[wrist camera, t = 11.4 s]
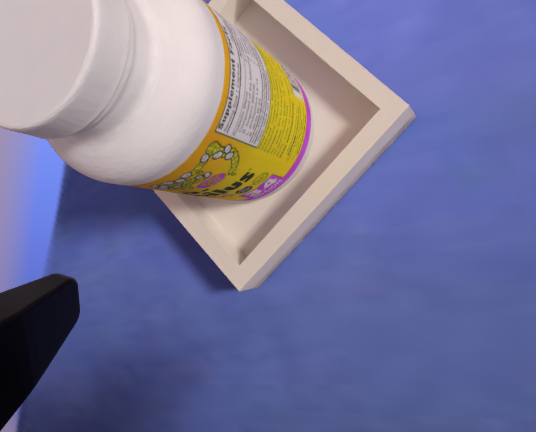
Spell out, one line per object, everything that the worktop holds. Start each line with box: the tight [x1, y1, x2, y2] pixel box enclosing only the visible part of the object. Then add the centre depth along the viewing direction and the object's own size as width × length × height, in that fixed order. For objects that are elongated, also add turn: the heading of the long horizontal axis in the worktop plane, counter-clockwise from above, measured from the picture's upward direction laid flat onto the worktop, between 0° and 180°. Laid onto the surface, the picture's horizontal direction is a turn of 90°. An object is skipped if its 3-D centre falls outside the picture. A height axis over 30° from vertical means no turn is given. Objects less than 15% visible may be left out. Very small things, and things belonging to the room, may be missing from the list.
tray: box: [153, 0, 416, 291], centre depth 23 cm, size 11×11×2 cm
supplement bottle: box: [0, 0, 314, 201], centre depth 18 cm, size 7×7×13 cm
